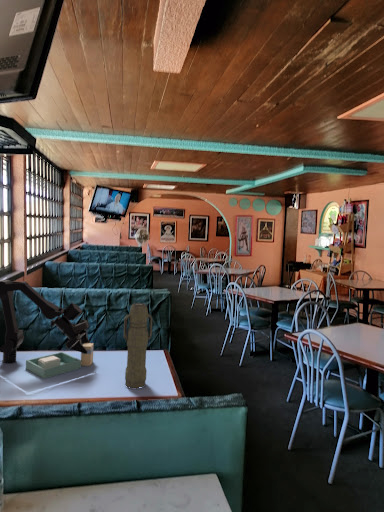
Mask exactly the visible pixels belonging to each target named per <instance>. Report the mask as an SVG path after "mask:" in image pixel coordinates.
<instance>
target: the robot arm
mask: <svg viewBox="0 0 384 512" xmlns="http://www.w3.org/2000/svg"><path fill="white" fill-rule="evenodd" d="M14 291H15V292H16V291H20V292H21V293H23V295H24V296H26V297H27V298H28V299H29V300H30V301H32V302H33V303H34V304H35V305H36V306H37V307H38V308H39V311H40V312H41V314H42V315H43V317H44V318H46V319H47V320H51V321H50V327H51V328H53V327H54V326H56V327H57V328H58V329H59V330H60V331H61V332H62V333H61V334H62V336H66V337H67V338H68V341H67V342H66V343H65V347H66V348H67V349H68V350H73V351H76V352H79V353H81V352H82V353H84V354H87V353H88V352H87V351H86V349H85V348H84V346H83V344H84V343H91V341H90V339H89V337H88V328H89V327H90V325H89V324H90V322H89V321H88V320H87V319H85V318H83V319H81V320H80V321H79V323H78V324H76V323H74V322H73V323H72V321H75V320H76V319H77V318H78V317H79V316H80V315H81V314H82V313H83V310H82V308H81V307H80V306H79V305H77V304H75V303H74V302H71V303H70V304H68V306H66V308H63V307H59V306H58V305H57V304H55V303H53V302H51V301H49V300H47V299H46V298H45V297H43V295H41V294H40V293H39V292H38V291H37V290H36V289H34V287H32V286H31V285H30V284H29V283H28V281H12V280H10V279H4V280H1V281H0V301H1V307H2V312H3V317H4V323H5V328H6V331H5V335H4V343H3V344H2V346H0V353H2V360H0V362H2V363H3V364H4V363H5V364H11V365H12V364H14V363H17V348H19V347H20V345H21V344H22V343H23V341H24V338H25V336H24V330H23V329H20V328H19V327H18V324H17V318H16V313H15V311H16V310H15V307H14V301H13V297H14Z"/></svg>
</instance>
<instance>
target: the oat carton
mask: <svg viewBox="0 0 384 512" xmlns="http://www.w3.org/2000/svg"><path fill="white" fill-rule="evenodd" d="M82 345H83V346H84V348H85V349H86V351H87V352H88V353H87V354H84V353H82V352H80V360H81V367H82V366H86V367H90V366H91V365H92V364H93V362H94V342H93V343H91V342H90V343H84V344H82Z"/></svg>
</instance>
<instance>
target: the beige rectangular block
mask: <svg viewBox="0 0 384 512" xmlns="http://www.w3.org/2000/svg"><path fill="white" fill-rule="evenodd" d="M58 365H60V359H59V358H57V357H55V356H50V357H46V358H41V359H39V360H38V366H40V367H42V368H44V369H47V368H51V367H55V366H58Z"/></svg>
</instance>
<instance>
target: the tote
mask: <svg viewBox="0 0 384 512" xmlns="http://www.w3.org/2000/svg"><path fill="white" fill-rule="evenodd" d="M50 356H55V357H57V358H59V359H60V365H58V366H55V367H51V368H47V369H44V368H42V367H40V366H38V360H39V359H41V358H46V357H50ZM81 367H82V366H81V359H79V358H77V357H75V356H73V355H70V354H68V353H66V352H63V351H61V352H55V353H52V354H51V353H50V354H47V355H43V356H39V357H35V358H30V359H26V360H25V369H26V370H28V371H30V372H31V373H34V374H35V375H37V376H39V377H40V378H41V379H47V378H50V377H54V376H58V375H61V374H64V373H68V372H72V371H75V370H78V369H81Z"/></svg>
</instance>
